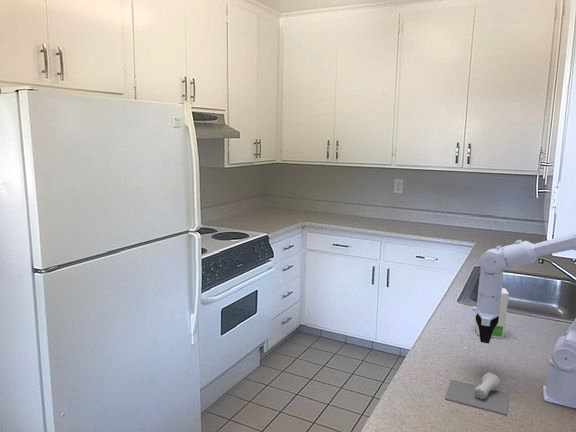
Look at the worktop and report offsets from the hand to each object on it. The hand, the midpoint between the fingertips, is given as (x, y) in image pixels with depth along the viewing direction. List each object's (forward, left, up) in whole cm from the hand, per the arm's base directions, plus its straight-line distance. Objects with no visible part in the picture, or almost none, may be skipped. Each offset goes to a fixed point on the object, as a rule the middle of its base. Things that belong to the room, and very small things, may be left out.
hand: (484, 341), depth 127 cm
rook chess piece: (-3, +7, -7) cm, 10 cm away
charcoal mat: (0, +13, -10) cm, 16 cm away
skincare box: (0, -31, -10) cm, 32 cm away
